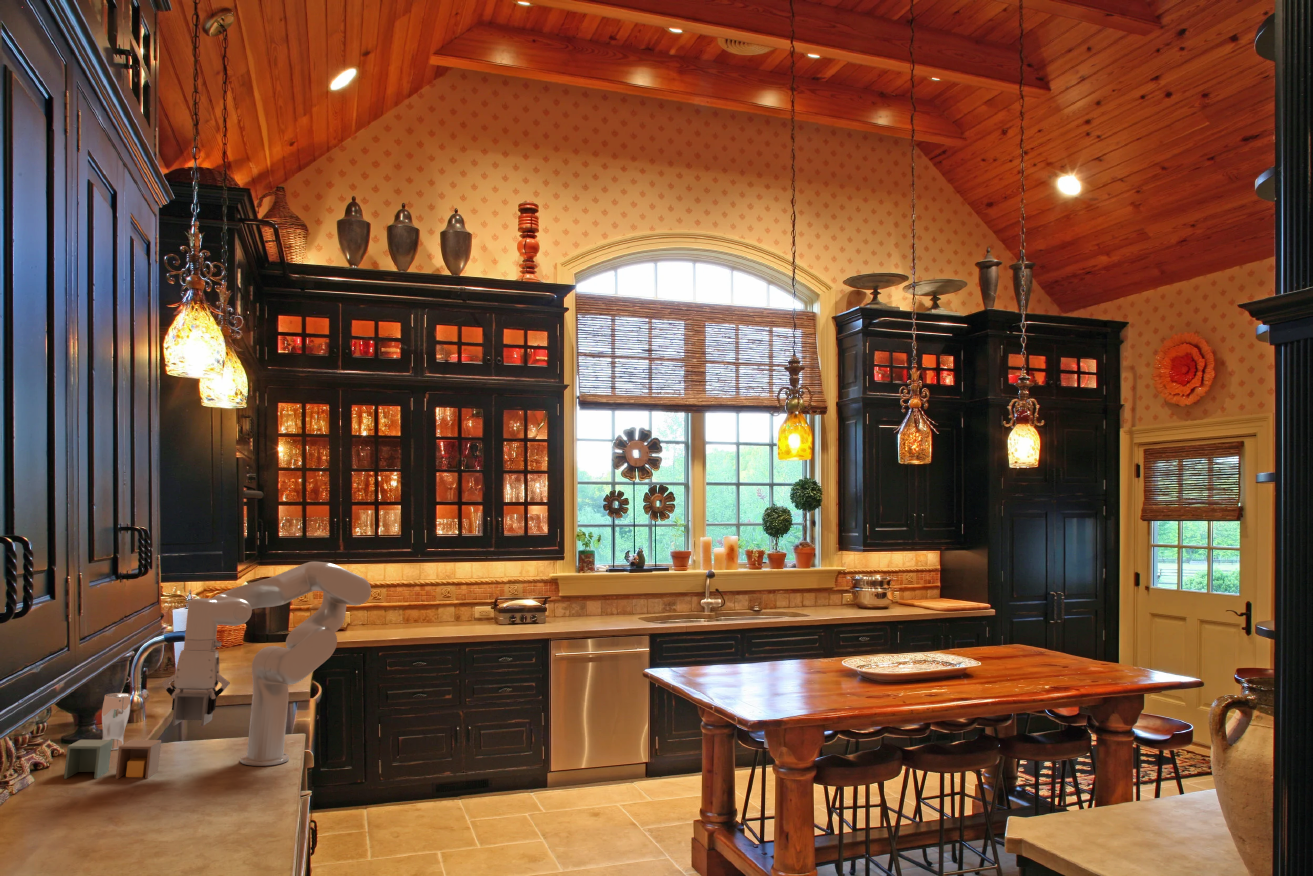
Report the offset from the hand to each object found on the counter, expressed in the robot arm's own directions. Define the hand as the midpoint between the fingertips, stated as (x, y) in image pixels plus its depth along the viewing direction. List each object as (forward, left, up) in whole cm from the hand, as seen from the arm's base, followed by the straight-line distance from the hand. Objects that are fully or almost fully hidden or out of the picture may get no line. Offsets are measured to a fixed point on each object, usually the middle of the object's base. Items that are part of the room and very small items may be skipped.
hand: (193, 713), depth 241 cm
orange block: (0, -12, -16) cm, 20 cm away
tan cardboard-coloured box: (0, -12, -16) cm, 20 cm away
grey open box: (0, 0, -2) cm, 2 cm away
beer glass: (-30, -29, -16) cm, 45 cm away
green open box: (0, -24, -16) cm, 29 cm away
